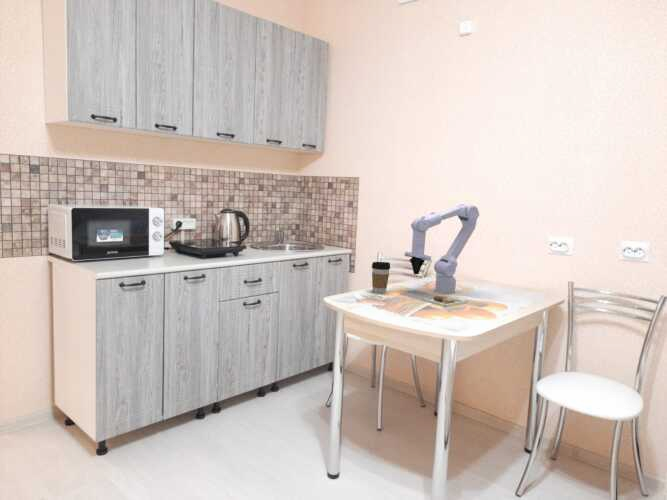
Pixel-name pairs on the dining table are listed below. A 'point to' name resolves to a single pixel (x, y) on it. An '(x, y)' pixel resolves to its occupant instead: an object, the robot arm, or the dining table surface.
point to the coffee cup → (380, 276)
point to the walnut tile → (439, 298)
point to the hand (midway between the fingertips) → (416, 274)
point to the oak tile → (448, 300)
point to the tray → (446, 304)
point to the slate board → (419, 295)
